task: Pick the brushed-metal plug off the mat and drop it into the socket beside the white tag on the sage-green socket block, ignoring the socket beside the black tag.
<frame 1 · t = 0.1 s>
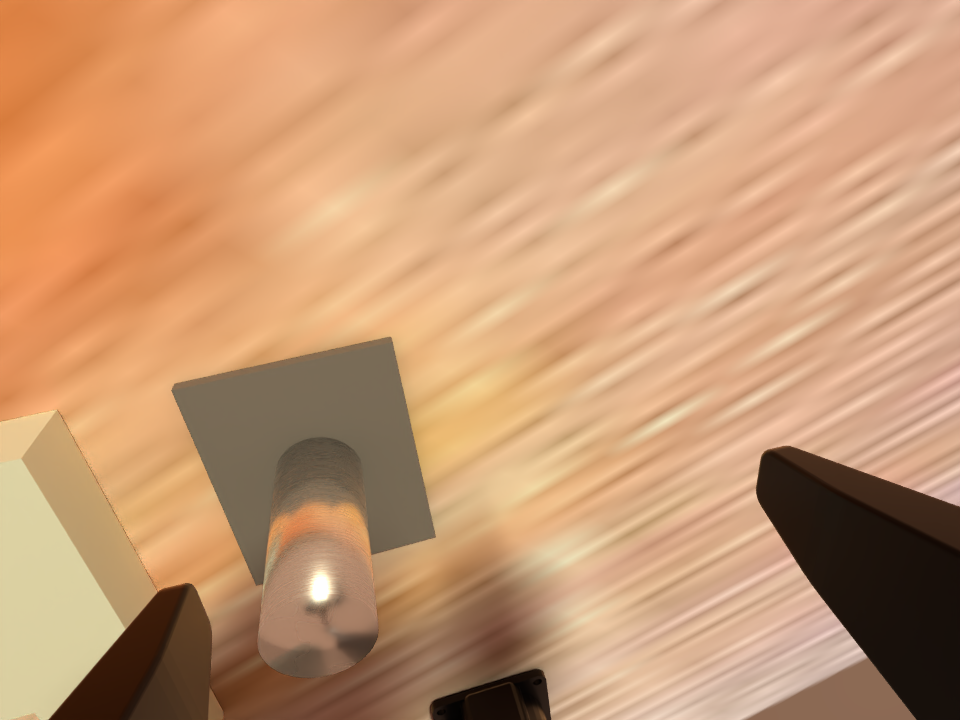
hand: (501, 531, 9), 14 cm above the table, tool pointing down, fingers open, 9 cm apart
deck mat: (319, 465, 25), on the table
plug: (319, 472, 25), resting on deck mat
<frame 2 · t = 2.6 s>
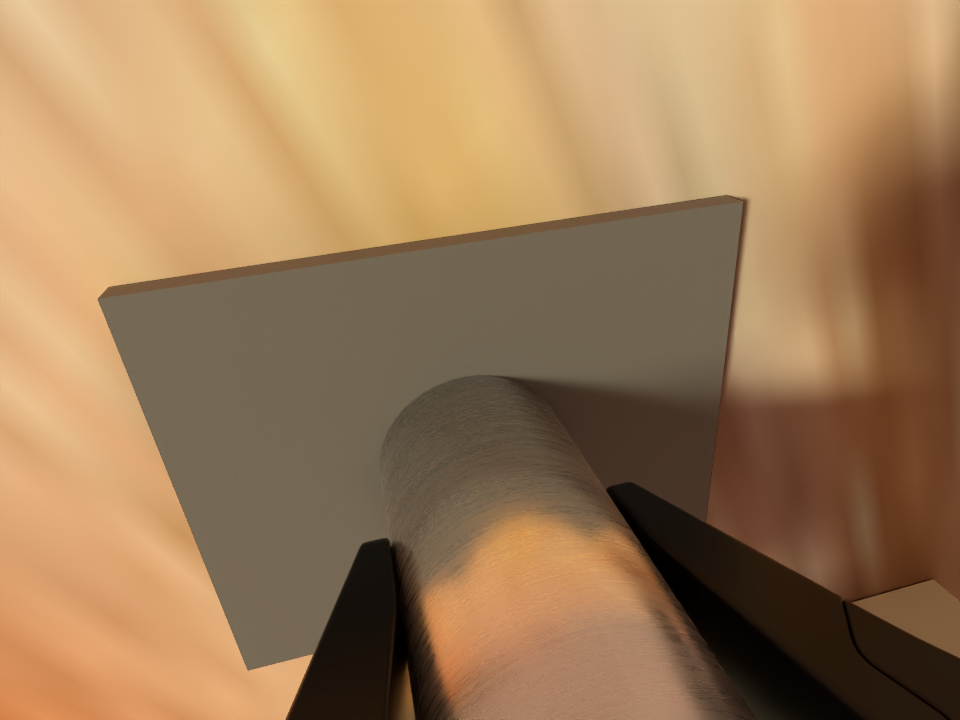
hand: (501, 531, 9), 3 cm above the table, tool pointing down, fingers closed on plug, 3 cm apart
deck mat: (467, 442, 12), on the table
plug: (472, 457, 11), resting on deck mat, touching gripper
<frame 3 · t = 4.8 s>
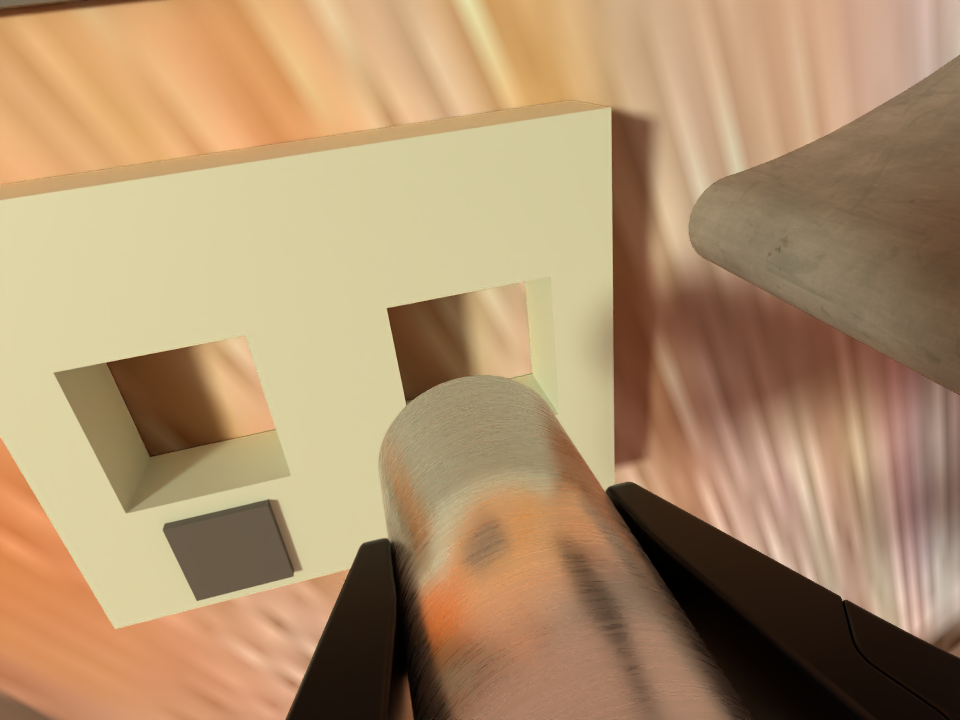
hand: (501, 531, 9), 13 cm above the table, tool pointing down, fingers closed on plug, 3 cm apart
socket block: (334, 353, 21), on the table
hip flask: (878, 141, 23), on the table
plug: (471, 457, 11), point 11 cm above the table, touching gripper
when the fingers open (4 cm above the table, at t = 7.3 s): plug drops 2 cm, resting in socket block.
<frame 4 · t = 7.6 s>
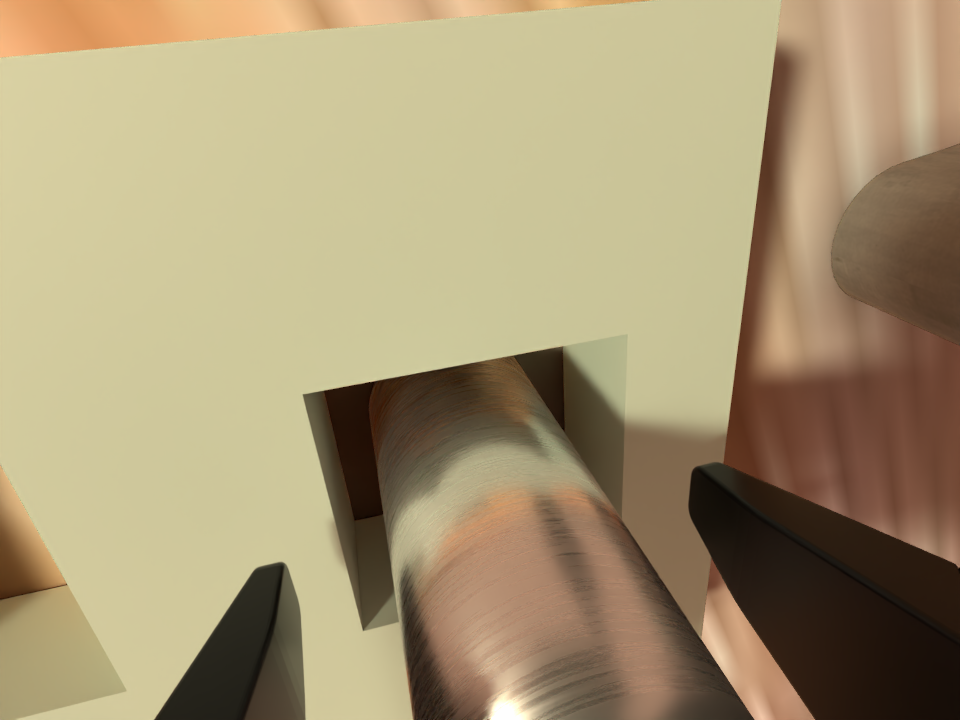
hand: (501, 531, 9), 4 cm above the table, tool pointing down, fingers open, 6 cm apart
socket block: (231, 448, 12), on the table
plug: (450, 405, 13), resting in socket block
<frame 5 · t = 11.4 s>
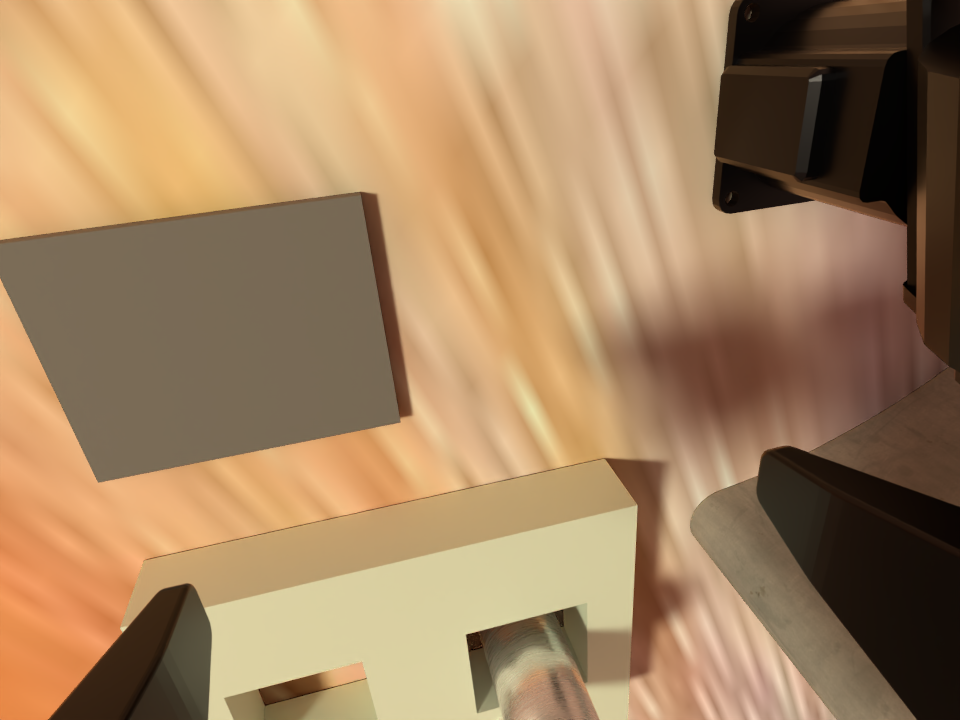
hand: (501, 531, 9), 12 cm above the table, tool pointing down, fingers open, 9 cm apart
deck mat: (224, 340, 19), on the table
socket block: (413, 627, 27), on the table
hip flask: (839, 454, 29), on the table
plug: (509, 602, 28), resting in socket block
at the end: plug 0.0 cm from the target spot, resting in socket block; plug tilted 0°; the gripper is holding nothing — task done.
